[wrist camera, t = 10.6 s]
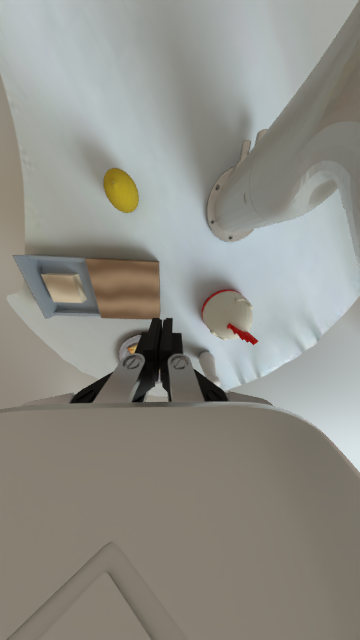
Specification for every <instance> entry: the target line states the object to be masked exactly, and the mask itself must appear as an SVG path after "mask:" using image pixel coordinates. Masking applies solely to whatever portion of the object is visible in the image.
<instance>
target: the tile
mask: <svg viewBox="0 0 360 640" xmlns="http://www.w3.org/2000/svg"><path fill="white" fill-rule="evenodd" d="M41 275H42V278H43V280H44V282H45V284H46V286H47V289H48V291H49V293H50V295H51V297H52V299H53V302H64V303H82V302H84V301H86V300H87V298H86V295H85V292H84V289H83V286H82V283H81V279H80V276H79V274H68V273H46V274H41Z"/></svg>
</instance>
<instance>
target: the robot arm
mask: <svg viewBox="0 0 360 640" xmlns="http://www.w3.org/2000/svg"><path fill="white" fill-rule="evenodd" d="M250 145H251V141H250V140H246V141H244V142H243V144H242V149H241V154H240V155H241V156H240V161H239V162H238V163H237V164H236V166H235V167H232V168H230V169H229V170H227V171H226V172H225V173H224V174H223V175H222V176H221V177H220V178H219V179H218V180H217V182H216V183H215V185H214V187H213V188H212V191H211V193H210V196H209V199H208V204H207V220H208V224H209V227H210V229H211V231H212V232H213V234H214V235H215V236H216V237H217V238H219V239H220V240H223V241H226V242H234V241H239V240H241V239H243V238H245V237H246V236H248V235H249V234H250V233H251V232H252V231H253V230H254V229H256V228H260V227H264V226H268V225H272V224H276V223H280V222H283V221H287V220H291V219H294V218H297V217H300V216H302V215H304V214H306V213H308V212H309V211H311V210H313V209H314V208H316V207H317V206H318V205H320V204H321V203H322V202H324V201H325V200H326V199H327V198H328V197H329V196H331V195H332V194H333V193H334V192H335V191H336V190H337V189H339V192H340V196H341V200H342V204H343V208H344V209H345V210H346V215H347V219H348V224H349V228H350V233H351V237H352V242H353V246H354V251H355V255H356V259H357V261H358V264H359V266H360V0H359V1H358V3H357V5H356V6H355V8H354V9H353V11H352V12H351V14H350V15H349V17H348V19H347V20H346V22H345V23H344V25H343V26H342V28H341V29H340V31H339V32H338V34H337V35H336V37H335V38H334V40H333V41H332V43H331V44H330V46H329V47H328V49H327V50H326V52H325V53H324V55H323V56H322V58H321V59H320V61H319V62H318V64H317V65H316V66H315V68H314V69H313V71H312V72H311V73H310V75H309V76H308V78H307V79H306V80H305V82H304V83H303V84H302V86H301V87H300V88H299V90H298V91H297V92H296V94H295V95H294V96H293V98H292V99H291V100H290V102H289V103H288V104H287V106H286V107H285V108H284V110H283V111H282V112H281V113H280V115H279V116H278V117H277V119H276V120H275V121H274V122H273V124H272V125H271V126H270V127H269V129H263V130H261V131H259V132H258V134H257V137H256V141H255V146H254V148H253V149H252V150H251V152H250V153H249V149H250ZM216 188H217V189H218V190H216ZM211 221H213V223H211ZM229 237H230V239H229ZM172 322H173V318H166V320H164V321H163V328H162V320H160V318H153V319H152V322H151V325H150V328H149V331H148V332H143V333H142V334H141V337H140V339H139V342H138V345H137V347H136V350H135V353H133V354H129V355H127V356H125V357H124V358H123V359H122V360H121V361H120V363H119V364H118V366H117V367H116V369H115V370H114V371H113V372H112V373H110V374H108V375H107V376H105V377H103V378H101V379H100V380H98V381H96V382H95V383H93V384H91V385H89V386H88V387H86V388H84V389H82V390H81V391H80V392H78V393H77V394H74V393H69V394H65V395H60V396H55V397H50V398H46V399H40V400H36V401H31V402H28V403H25V404H24V405H22V406H19V407H12V408H5V409H0V640H360V472H359V471H358V470H357V469H356V468H355V467H354V466H353V464H352V463H351V462H350V461H349V460H348V459H347V458H346V456H345V455H344V454H343V453H342V452H341V451H340V450H339V449H338V448H337V447H336V445H335V444H334V443H333V442H332V441H331V440H330V439H329V438H328V437H327V436H326V435H325V434H324V433H323V432H322V431H321V430H319V429H318V428H317V427H316V426H314V425H313V424H312V423H310V422H309V421H307V420H306V419H304V418H302V417H300V416H298V415H296V414H294V413H292V412H289V411H287V410H284V409H281V408H278V407H275V406H273V405H272V404H271V403H269V402H268V401H266V400H264V399H261V398H257V397H253V396H248V395H243V394H238V393H234V392H230V391H229V392H228V393H226V392H224V391H223V390H222V389H221V388H219V387H218V386H217V385H215V384H214V383H213V382H211V381H210V380H208V379H207V378H206V377H204V376H203V375H202V374H200V373H199V372H197V371H196V370H195V369H193V366H192V363H191V361H190V359H189V358H188V357H187V356H186V355H184V354H183V347H182V335H181V333H172ZM159 371H160V382H162V387H163V388H164V389H165V390H166V391H167V392H168V402H146V399H147V396H148V391H149V390H150V389H151V388H152V387H155V382H158V379H159Z"/></svg>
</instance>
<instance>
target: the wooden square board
mask: <svg viewBox="0 0 360 640" xmlns="http://www.w3.org/2000/svg"><path fill="white" fill-rule="evenodd" d="M85 260H86V264H87V268H88V271H89V275H90V278H91V282H92V286H93V289H94V293H95V296H96V300H97V304H98V307H99V311H100V314H101V318H118V319H153V318H160V277H159V261H145V260H126V259H108V258H88V259H85Z"/></svg>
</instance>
